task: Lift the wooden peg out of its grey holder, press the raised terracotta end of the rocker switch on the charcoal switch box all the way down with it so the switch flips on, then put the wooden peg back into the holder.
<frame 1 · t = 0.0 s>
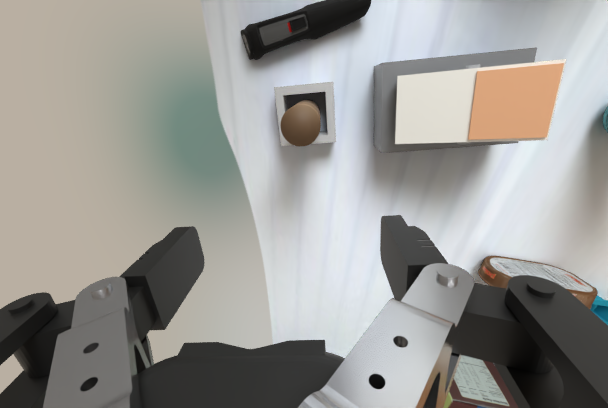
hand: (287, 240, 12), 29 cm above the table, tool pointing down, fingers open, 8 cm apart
rocker switch: (468, 106, 29), point 9 cm above the table, hinge at 15.0°
tin: (515, 263, 45), on the table
electric trimmer: (301, 26, 35), on the table
stylus holder: (306, 113, 38), on the table
ice cube tray: (545, 330, 51), on the table
protein box: (425, 346, 53), on the table
wooden peg: (306, 113, 38), resting in stylus holder
switch box: (436, 102, 37), on the table
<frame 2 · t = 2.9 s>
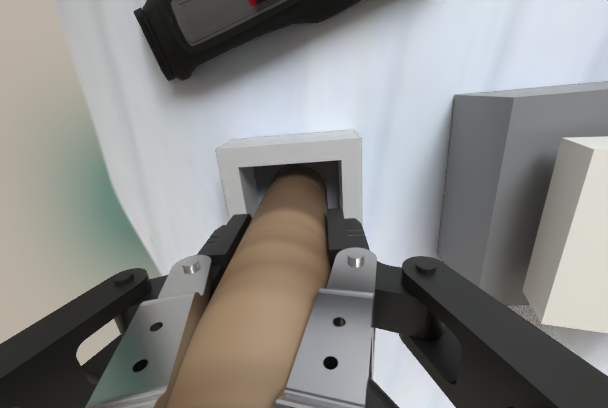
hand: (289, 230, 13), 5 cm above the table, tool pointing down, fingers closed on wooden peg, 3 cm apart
stylus holder: (298, 192, 18), on the table
wooden peg: (298, 192, 18), resting in stylus holder, touching gripper
switch box: (586, 173, 16), on the table
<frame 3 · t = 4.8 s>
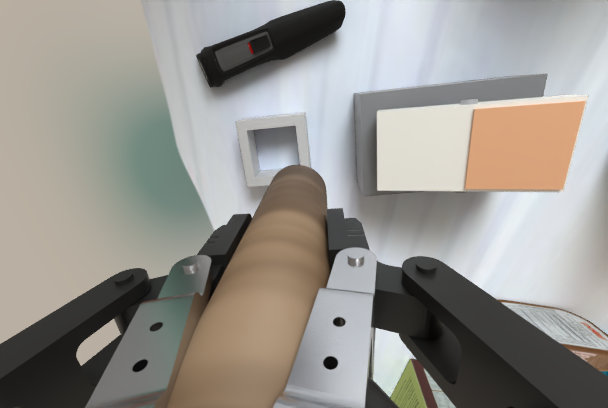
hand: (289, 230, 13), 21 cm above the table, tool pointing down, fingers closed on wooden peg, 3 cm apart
rocker switch: (464, 148, 23), point 9 cm above the table, hinge at 15.0°
tin: (523, 307, 40), on the table
electric trimmer: (267, 44, 29), on the table
stylus holder: (278, 147, 33), on the table
protein box: (423, 392, 48), on the table
wooden peg: (297, 192, 18), point 16 cm above the table, touching gripper
switch box: (427, 133, 31), on the table
when the fingers open (7 cm above the table, at t = 13.7 s): wooden peg drops 2 cm, resting in stylus holder.
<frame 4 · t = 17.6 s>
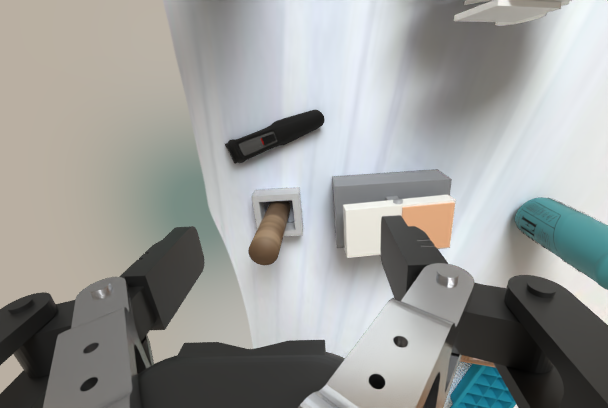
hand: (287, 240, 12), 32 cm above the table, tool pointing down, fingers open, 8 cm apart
beverage bottle: (528, 210, 45), on the table
rocker switch: (397, 226, 37), point 9 cm above the table, hinge at -5.5°
electric trimmer: (273, 134, 43), on the table
stylus holder: (280, 208, 47), on the table
ice cube tray: (488, 373, 59), on the table
wooden peg: (279, 207, 47), resting in stylus holder
switch box: (383, 202, 45), on the table
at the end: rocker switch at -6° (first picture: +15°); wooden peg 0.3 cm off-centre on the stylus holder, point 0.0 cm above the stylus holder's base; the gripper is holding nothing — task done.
